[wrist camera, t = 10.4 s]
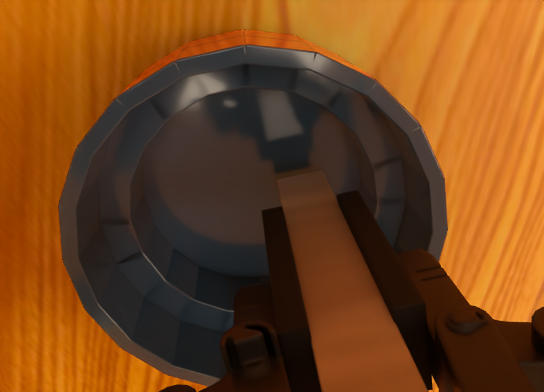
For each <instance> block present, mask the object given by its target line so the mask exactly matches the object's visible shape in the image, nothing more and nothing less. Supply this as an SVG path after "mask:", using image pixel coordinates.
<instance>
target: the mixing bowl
mask: <svg viewBox="0 0 544 392" xmlns="http://www.w3.org/2000/svg"><path fill="white" fill-rule="evenodd" d="M321 170H322V171H323V173H324V175H325V177H326V179H327V181H328V183H329V185H330V187H331V189H332V191H333V193H334V196H335V198H336V200H337V195H336V194H341V193H346V192H350V191H355V190H358V192H359V193H360V195H361V197H362V198H363V200H364V202H365V203H366V205H367V207H368V208H369V210H370V212H371V213H372V215H373V217H374V218H375V220H376V221H377V223H378V225H379V226H380V228H381V230H382V231H383V233H384V235H385V236H386V238H387V240H388V241H389V243H390V245H391V246H392V248H393V250H394V251H395V253H398V252H402V251H407V250H412V249H417V248H421V249H423V250H425V251H426V252H428V253H430V254H432V255H433V256H434V257H435V258H436V260H437V261H438V262H439V259H440V256H441V252H442V249H443V245H444V242H445V238H446V235H447V231H448V225H447V208H446V192H445V178H444V175H443V172H442V170H441V168H440V166H439V164H438V161H437V159H436V157H435V155H434V152H433V150H432V148H431V146H430V143H429V141H428V139H427V137H426V134H425V132H424V130H423V128H422V126H421V125H420V123H419V122H418V121H417V120H416V119H415V118H414V117H413V116H412V115H411V114H410V113H409V112H408V111H407V110H406V109H405V108H404V107H403V106H402V105H401V104H400V103H399V102H398V101H397V100H396V99H395V98H394V97H393V96H392V95H391V94H390V93H389V92H388V91H387V90H386V89H385V88H384V87H383V86H382V85H381V84H380V83H379V82H378V81H377V80H376V79H374V78H373V77H371V76H370V75H368V74H367V73H365V72H363V71H362V70H360V69H359V68H357V67H356V66H354V65H353V64H351V63H349V62H348V61H346V60H345V59H343V58H342V57H340V56H339V55H336V54H334V53H332V52H330V51H328V50H326V49H324V48H322V47H320V46H317V45H315V44H313V43H311V42H309V41H307V40H305V39H303V38H301V37H298V36H294V35H291V34H282V33H273V32H264V31H255V30H246V29H244V30H243V31H242V30H236V31H232V32H228V33H223V34H219V35H214V36H210V37H205V38H201V39H197V40H193V41H190V42H188V43H186V44H185V45H183V46H181V47H180V48H178V49H177V50H175V51H173V52H172V53H170V54H169V55H167V56H165V57H164V58H162V59H161V60H159V61H157V62H156V63H154V64H153V65H151V66H149V67H148V68H147V69H146V70H145V71H143V72H142V73H141V74H140V75H139V76H138V77H137V78H136V79H135V80H134V81H133V82H131V83H130V84H129V85H128V86H127V87H126V88H125V89H124V90H123V91H122V92H121V93H119V94H118V95H117V96H116V97H115V98H114V99H113V101H112V102H111V103H110V104H109V106H108V107H107V108H106V109H105V111H104V112H103V113H102V115H101V116H100V117H99V118H98V120H97V121H96V122H95V124H94V125H93V126H92V127H91V129H90V130H89V131H88V132H87V134H86V135H85V136H84V138H83V139H82V140H81V141H80V143H79V144H78V145H77V148H76V149H75V152H74V155H73V158H72V161H71V165H70V168H69V171H68V175H67V178H66V181H65V184H64V188H63V191H62V194H61V197H60V201H59V206H58V208H59V221H60V234H61V248H62V260H63V263H64V265H65V267H66V270H67V272H68V274H69V276H70V278H71V280H72V283H73V285H74V287H75V289H76V291H77V294H78V296H79V298H80V300H81V302H82V304H83V307H84V309H85V310H86V311H87V312H88V314H89V315H90V316H91V317H92V318H93V319H94V320H95V321H96V322H97V323H98V324H99V325H100V326H101V327H102V329H103V330H104V331H105V332H106V333H107V334H108V335H109V336H110V337H111V338H112V339H113V340H114V341H115V342H116V344H117V345H118V346H119V347H120V348H122V349H123V350H125V351H127V352H128V353H130V354H132V355H133V356H135V357H137V358H139V359H140V360H142V361H144V362H145V363H147V364H149V365H150V366H152V367H154V368H156V369H157V370H159V371H161V372H162V373H164V374H167V375H169V376H172V377H176V378H180V379H183V380H187V381H190V382H194V383H198V384H201V385H205V386H211V385H212V384H214V383H216V382H218V381H219V380H220V379H221V378H222V377H224V376H225V374H226V373H227V369H226V366H225V362H224V359H223V356H222V353H221V350H220V341H221V338H222V336H223V335H224V334H225V332H226V331H227V330H229V329H230V328H231V327H232V326H234V297H235V295H236V294H237V292H238V290H239V288H240V287H243V286H248V285H252V284H257V283H262V282H266V281H270V276H269V268H268V259H267V251H266V243H265V235H264V227H263V218H262V210H266V209H271V208H275V207H280V206H281V201H280V197H279V192H278V187H277V182H276V180H279V179H283V178H288V177H293V176H297V175H302V174H307V173H311V172H316V171H321ZM337 202H338V201H337Z"/></svg>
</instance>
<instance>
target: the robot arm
mask: <svg viewBox="0 0 544 392" xmlns="http://www.w3.org/2000/svg"><path fill="white" fill-rule="evenodd" d="M336 195H337V201H338V205H339V207H340V209H341V212H342V214H343V216H344V218H345V220H346V222H347V224H348V226H349V228H350V230H351V233H352V235H353V237H354V239H355V241H356V243H357V245H358V247H359V249H360V252H361V254H362V256H363V258H364V260H365V262H366V264H367V266H368V268H369V270H370V273H371V275H372V277H373V279H374V281H375V283H376V285H377V287H378V289H379V291H380V294H381V296H382V298H383V300H384V302H385V304H386V306H387V308H388V310H389V313H390V315H391V317H392V319H393V321H394V323H396V325H397V327H398V329H399V331H400V333H401V335H402V337H403V339H404V342H405V344H406V346H407V348H408V350H409V352H410V354H411V356H412V358H413V360H414V362H415V364H416V367H417V369H418V371H419V373H420V375H421V377H422V379H423V381H424V383H425V385H426V387H427V390H433V388H432V376H433V378H434V380H435V382H436V384H437V386H438V388H439V392H544V307H542V308H540V309H538V310H536V311H535V313H534V314H533V316H532V321H531V322H506V321H498V320H494V319H492V317H491V316H490V315H489V314H488V313H487V312H486V311H484V310H482V309H480V308H478V307H476V306H472V305H470V304H469V303H468V302H467V300H466V299H465V298H464V296H463V295H462V294H461V292H460V291H459V290H458V288H457V287H456V285H455V284H454V283H453V281H452V280H451V279H450V277H449V276H447V273H446V272H445V271H444V269H443V268H441V265H440V264H439V262H438V261H437V260H436V258H435V257H434V256H433V255H432V254H430V253H428V252H426V251H425V250H423V249H421V248H417V249H412V250H407V251H402V252H398V253H395V251H394V250H393V248H392V246H391V245H390V243H389V241H388V240H387V238H386V236H385V235H384V233H383V231H382V230H381V228H380V226H379V225H378V223H377V221H376V220H375V218H374V217H373V215H372V213H371V212H370V210H369V208H368V207H367V205H366V203H365V202H364V200H363V198H362V197H361V195H360V193H359V192H358V190H355V191H350V192H346V193H341V194H336ZM262 218H263V227H264V235H265V243H266V251H267V259H268V268H269V276H270V281H266V282H262V283H257V284H252V285H248V286H243V287H240V288H239V290H238V292H237V294H236V295H235V297H234V326H232V327H231V328H230V329H229V330H227V331H226V332H225V334H224V335H223V336H222V338H221V341H220V350H221V353H222V356H223V359H224V362H225V366H226V369H227V373H226V374H225V376H224V377H222V378H221V379H220V380H219V381H218V382H216V383H214V384H212V385H211V386H209V387H207V388H205V389H203V390H201V391H199V392H321V388H320V383H319V378H318V374H317V369H316V364H315V360H314V355H313V350H312V346H311V340H312V339H311V334H310V329H309V325H308V320H307V316H306V311H305V306H304V302H303V297H302V293H301V288H300V284H299V279H298V275H297V270H296V266H295V261H294V256H293V252H292V247H291V243H290V238H289V234H288V229H287V225H286V220H285V215H284V211H283V206H280V207H275V208H271V209H266V210H262ZM431 374H432V376H431ZM159 392H196V390H195V389H194V388H192V387H190V386H188V385H178V384H177V385H173V386H169V387H166V388H164V389H163V390H161V391H159Z"/></svg>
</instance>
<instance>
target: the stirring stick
mask: <svg viewBox="0 0 544 392" xmlns="http://www.w3.org/2000/svg"><path fill="white" fill-rule="evenodd" d="M276 182H277V187H278V192H279V197H280V201H281V206H283V211H284V215H285V220H286V225H287V229H288V234H289V238H290V243H291V247H292V252H293V256H294V261H295V266H296V270H297V275H298V279H299V284H300V288H301V293H302V297H303V302H304V306H305V311H306V316H307V320H308V325H309V329H310V334H311V339H312V340H311V346H312V350H313V355H314V360H315V364H316V369H317V374H318V378H319V383H320V388H321V392H428V390H427V387H426V385H425V383H424V381H423V379H422V377H421V375H420V373H419V371H418V369H417V367H416V364H415V362H414V360H413V358H412V356H411V354H410V352H409V350H408V348H407V346H406V344H405V342H404V339H403V337H402V335H401V333H400V331H399V329H398V327H397V325H396V323H394V321H393V319H392V317H391V315H390V313H389V310H388V308H387V306H386V304H385V302H384V300H383V298H382V296H381V294H380V291H379V289H378V287H377V285H376V283H375V281H374V279H373V277H372V275H371V273H370V270H369V268H368V266H367V264H366V262H365V260H364V258H363V256H362V254H361V252H360V249H359V247H358V245H357V243H356V241H355V239H354V237H353V235H352V233H351V230H350V228H349V226H348V224H347V222H346V220H345V218H344V216H343V214H342V212H341V209H340V207H339V205H338V202H337V200H336V198H335V196H334V193H333V191H332V189H331V187H330V185H329V183H328V181H327V179H326V177H325V175H324V173H323V171H322V170H321V171H316V172H311V173H307V174H302V175H297V176H293V177H288V178H283V179H279V180H276Z"/></svg>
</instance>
